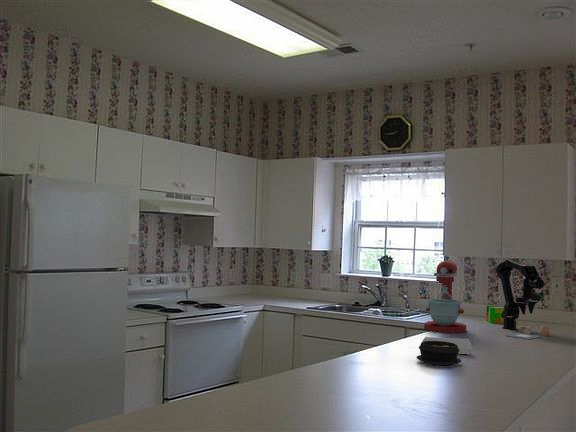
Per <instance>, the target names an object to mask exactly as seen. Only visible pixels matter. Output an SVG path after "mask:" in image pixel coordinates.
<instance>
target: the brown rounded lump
mask: <svg viewBox="0 0 576 432" xmlns="http://www.w3.org/2000/svg"><path fill="white" fill-rule="evenodd" d="M539 336H543V337H550V326H547V325H546V326H545V325H541V326H540V333H539Z"/></svg>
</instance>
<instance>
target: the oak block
mask: <svg viewBox="0 0 576 432" xmlns="http://www.w3.org/2000/svg"><path fill="white" fill-rule="evenodd" d="M517 329H518V330H517V333H523V334H530V335H531V332H532V330H531V329H532V326H528V325H518V327H517Z"/></svg>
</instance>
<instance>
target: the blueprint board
mask: <svg viewBox="0 0 576 432" xmlns="http://www.w3.org/2000/svg"><path fill="white" fill-rule="evenodd" d="M504 336H505V337H508V336H509V337H510V338H515V339H517V338H518V339H524V340H534V339H535V340H536V339H538V338H539V339H540V338H543V337H544V336H541V335H536V334H531V333H530V334H523V333H518V332H515V333H510V334H504ZM509 337H508V338H509Z"/></svg>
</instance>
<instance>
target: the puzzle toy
mask: <svg viewBox="0 0 576 432" xmlns="http://www.w3.org/2000/svg"><path fill="white" fill-rule="evenodd" d="M503 311H504V306H502V305H501V306H497V305H486V315H485V316H486V318H485V319H486V322H488V323H490V324H501V325H502V324H503V325H504V318H501V314H502V312H503Z"/></svg>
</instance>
